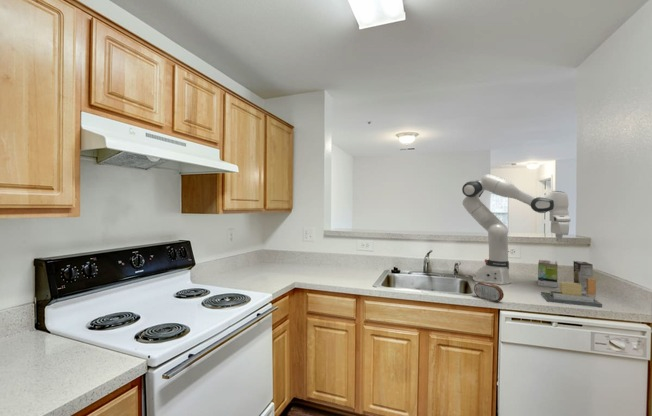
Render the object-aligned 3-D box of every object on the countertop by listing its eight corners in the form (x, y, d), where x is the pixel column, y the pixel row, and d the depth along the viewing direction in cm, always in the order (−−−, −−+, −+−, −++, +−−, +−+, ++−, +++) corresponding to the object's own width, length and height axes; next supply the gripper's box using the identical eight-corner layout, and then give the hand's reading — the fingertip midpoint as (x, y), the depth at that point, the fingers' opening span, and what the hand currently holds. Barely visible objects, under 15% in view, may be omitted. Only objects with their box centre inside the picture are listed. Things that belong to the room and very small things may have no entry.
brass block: (581, 300, 151) (581, 284, 152) (562, 298, 155) (562, 283, 155) (578, 298, 155) (578, 283, 155) (559, 296, 158) (559, 281, 158)
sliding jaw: (550, 295, 160) (550, 276, 160) (549, 293, 162) (549, 275, 162) (595, 299, 152) (595, 279, 152) (593, 298, 155) (593, 278, 155)
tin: (504, 302, 153) (503, 286, 153) (500, 303, 151) (500, 287, 151) (476, 295, 166) (476, 280, 166) (473, 296, 164) (473, 281, 164)
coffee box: (573, 287, 184) (572, 261, 184) (586, 288, 181) (585, 261, 182) (579, 290, 175) (579, 263, 175) (593, 291, 173) (593, 264, 173)
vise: (547, 301, 154) (547, 293, 154) (540, 294, 167) (540, 287, 167) (602, 307, 145) (602, 299, 145) (590, 299, 158) (590, 291, 158)
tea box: (557, 288, 181) (557, 264, 182) (537, 285, 187) (537, 262, 188) (557, 283, 193) (557, 260, 194) (538, 281, 199) (538, 259, 200)
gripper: (547, 217, 186) (547, 239, 186) (557, 218, 167) (557, 243, 167) (559, 217, 184) (560, 240, 183) (571, 218, 165) (571, 243, 165)
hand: (559, 241), depth 175 cm, fingers closed
